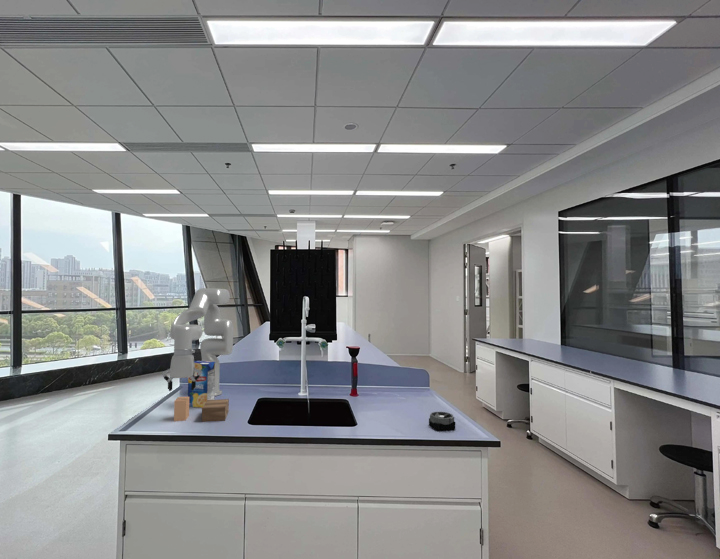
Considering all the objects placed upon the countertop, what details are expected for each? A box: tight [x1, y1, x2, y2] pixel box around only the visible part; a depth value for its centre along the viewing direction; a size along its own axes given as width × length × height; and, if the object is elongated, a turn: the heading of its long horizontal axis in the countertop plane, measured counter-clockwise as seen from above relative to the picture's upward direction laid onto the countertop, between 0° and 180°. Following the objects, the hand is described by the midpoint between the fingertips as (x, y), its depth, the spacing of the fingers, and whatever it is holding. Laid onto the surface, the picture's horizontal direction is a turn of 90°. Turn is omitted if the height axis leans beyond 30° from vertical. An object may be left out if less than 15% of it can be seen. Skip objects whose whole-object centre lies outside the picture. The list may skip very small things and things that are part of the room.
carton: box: [173, 396, 190, 422], centre depth 185 cm, size 7×5×9 cm
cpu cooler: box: [428, 411, 456, 432], centre depth 176 cm, size 10×6×10 cm
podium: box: [201, 398, 230, 423], centre depth 188 cm, size 14×10×6 cm
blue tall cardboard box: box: [187, 360, 216, 409], centre depth 206 cm, size 7×11×22 cm, turn 79°
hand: (181, 390), depth 185 cm, fingers open, 9 cm apart
